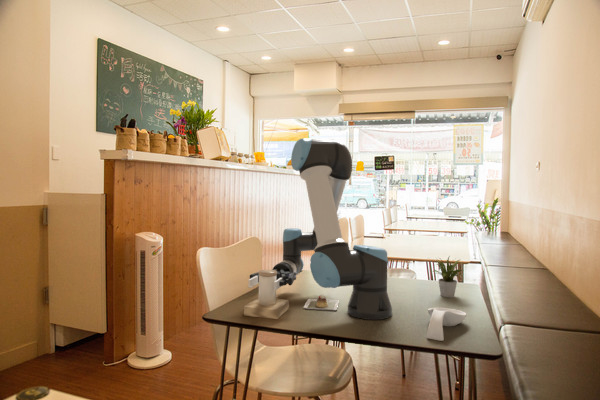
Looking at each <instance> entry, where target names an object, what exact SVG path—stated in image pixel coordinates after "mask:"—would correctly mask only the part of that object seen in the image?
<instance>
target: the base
mask: <svg viewBox="0 0 600 400" xmlns="http://www.w3.org/2000/svg"><path fill="white" fill-rule="evenodd" d="M258 301H259V296H257V297H256V298H255V299H253V300H252V301H250V302H248V303H247V304H246V305H244V306H243V316H244V317H245V316H247V317H255V318H256V317H257V318H264V319H272V320H273V319H274V320H278V319H279V318H280V317H282V315H284V314H285V313H286V312H287V311H288V310H289V309H290V300H289V299H278V298H276V304H275V305H271V306H263V305H260V304H259V303H258Z"/></svg>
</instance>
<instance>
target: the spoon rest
mask: <svg viewBox="0 0 600 400" xmlns="http://www.w3.org/2000/svg"><path fill="white" fill-rule="evenodd" d="M427 313H428V315H429V316H430V320H429V322H428V327H427V330H426V331H427V332H426V338H427V339H429V340H435V341H440V342H443V341H444V339H445V338H444V328H443V327H444V326H445V327H456V326H457V325H458V324H461V323H462V322H463V321H464V320H465V319H466V318H467V313H466V312H464V311H463V310H458V309H454V308H449V307H448V308H447V307H446V308H445V307H430V308H428V309H427Z"/></svg>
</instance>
